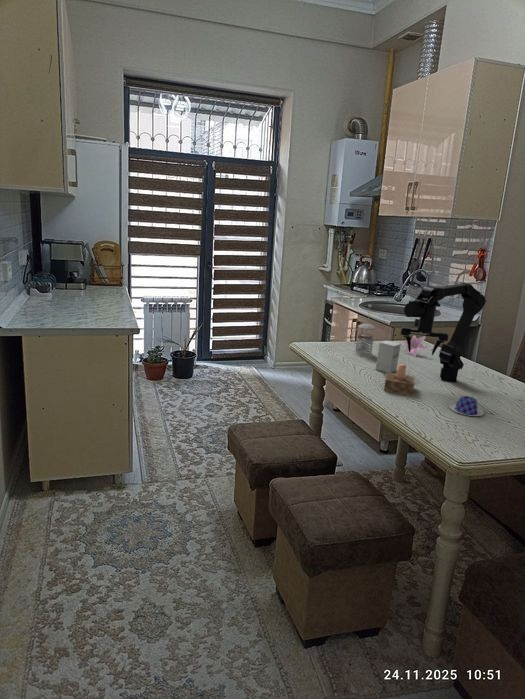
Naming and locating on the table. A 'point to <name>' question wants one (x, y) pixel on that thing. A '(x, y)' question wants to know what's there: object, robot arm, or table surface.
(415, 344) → the lily
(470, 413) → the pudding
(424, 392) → the table surface
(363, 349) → the french press
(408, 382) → the bore block
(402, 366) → the pin
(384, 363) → the supplement box
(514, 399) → the table surface
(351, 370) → the table surface
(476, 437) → the table surface
